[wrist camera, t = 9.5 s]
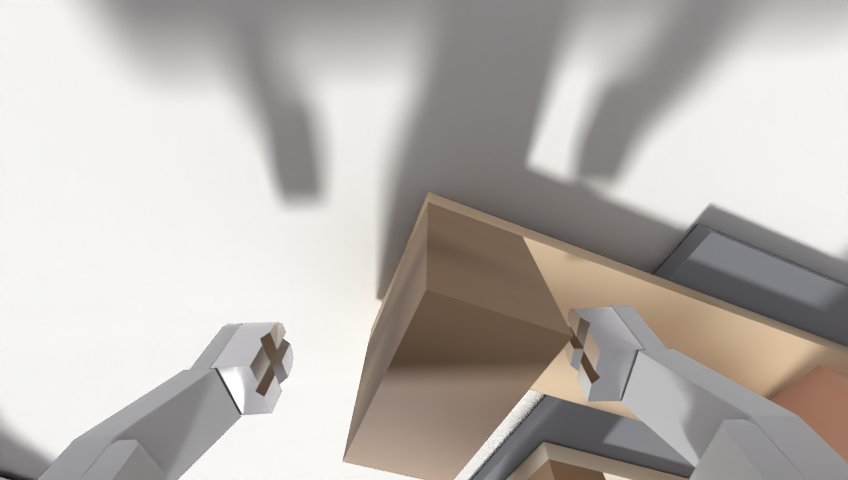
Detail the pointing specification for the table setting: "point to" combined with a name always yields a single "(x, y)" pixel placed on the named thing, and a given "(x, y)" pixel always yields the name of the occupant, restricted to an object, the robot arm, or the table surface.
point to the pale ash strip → (580, 467)
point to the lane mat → (709, 274)
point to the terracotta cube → (821, 405)
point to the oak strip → (666, 318)
